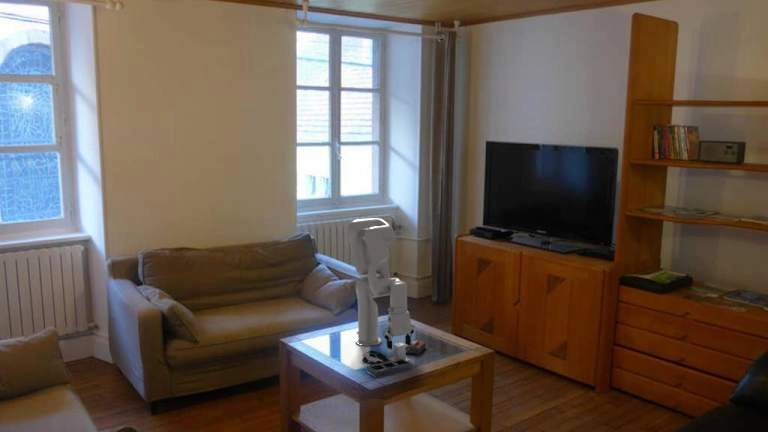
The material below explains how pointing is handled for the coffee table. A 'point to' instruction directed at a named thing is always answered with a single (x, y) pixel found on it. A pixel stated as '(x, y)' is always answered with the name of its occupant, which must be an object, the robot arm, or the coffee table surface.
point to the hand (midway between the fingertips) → (398, 346)
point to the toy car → (374, 357)
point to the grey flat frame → (389, 367)
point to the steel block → (399, 351)
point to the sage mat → (394, 359)
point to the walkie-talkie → (415, 347)
